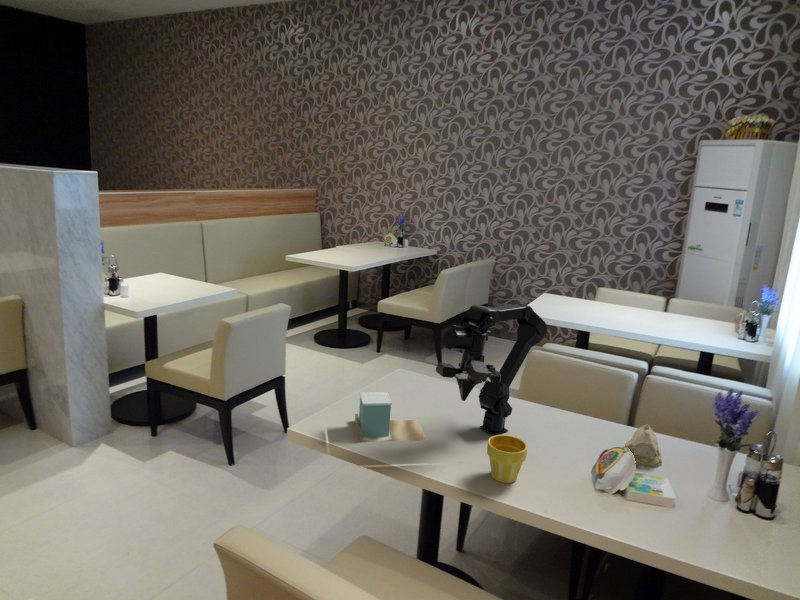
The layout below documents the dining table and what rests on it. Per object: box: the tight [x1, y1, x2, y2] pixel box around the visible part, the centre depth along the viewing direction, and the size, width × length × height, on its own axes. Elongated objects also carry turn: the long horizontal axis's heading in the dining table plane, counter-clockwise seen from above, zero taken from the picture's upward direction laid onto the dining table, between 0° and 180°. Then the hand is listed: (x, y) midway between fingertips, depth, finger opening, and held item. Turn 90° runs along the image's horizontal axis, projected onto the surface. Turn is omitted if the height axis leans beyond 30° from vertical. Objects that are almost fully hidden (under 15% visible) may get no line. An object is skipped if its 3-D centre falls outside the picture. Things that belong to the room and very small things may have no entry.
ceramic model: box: [624, 424, 663, 468], centre depth 169 cm, size 14×11×10 cm
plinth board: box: [354, 413, 428, 443], centre depth 174 cm, size 20×14×3 cm
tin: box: [358, 391, 393, 437], centre depth 172 cm, size 8×8×11 cm
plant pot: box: [486, 434, 528, 484], centre depth 152 cm, size 10×10×10 cm
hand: (463, 400), depth 169 cm, fingers closed
